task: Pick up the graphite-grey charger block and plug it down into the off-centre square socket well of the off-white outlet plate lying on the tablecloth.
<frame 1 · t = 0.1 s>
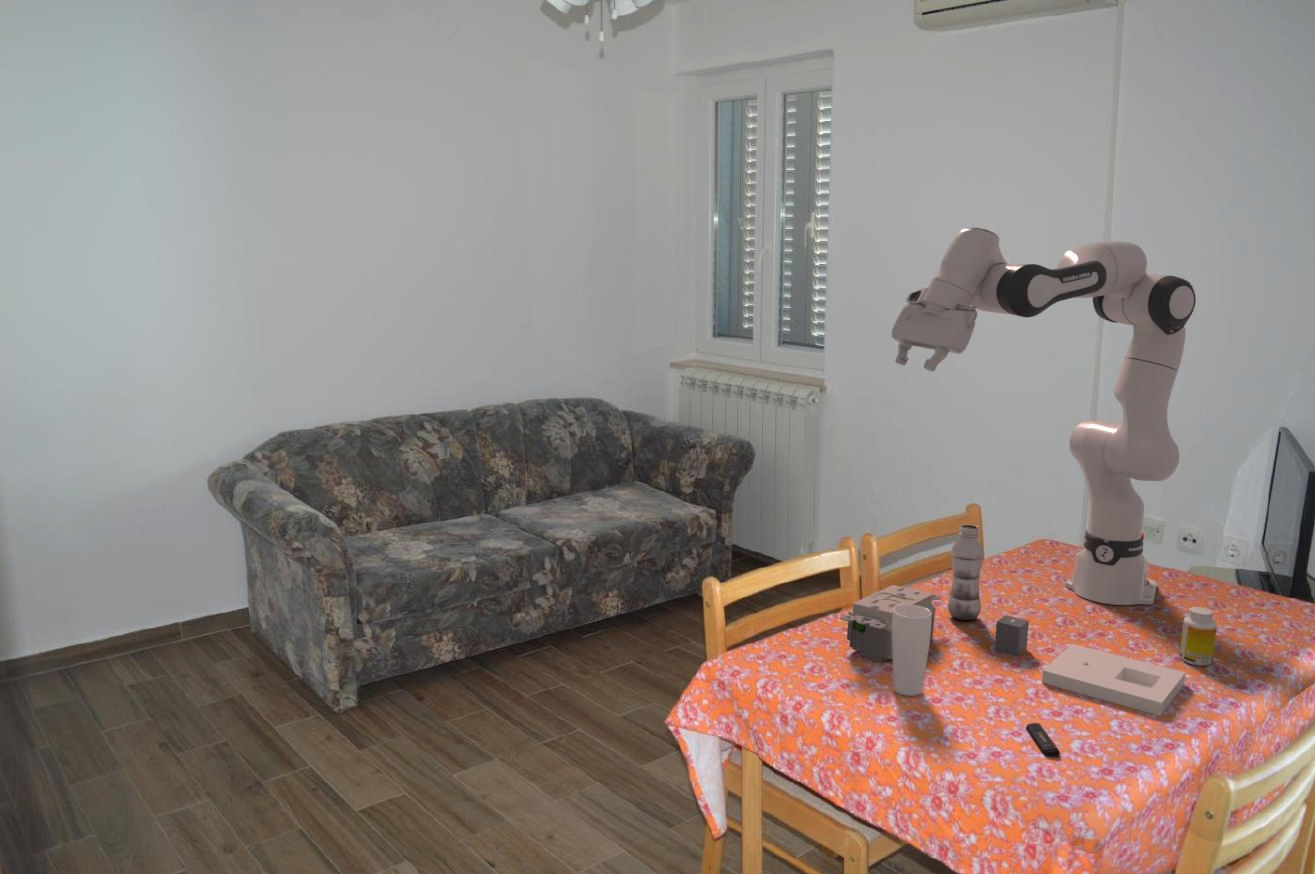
hand: (913, 366, 199), 54 cm above the table, tool tilted 30°, fingers open, 8 cm apart
electrical outlet: (890, 646, 201), on the table
usb stick: (1042, 745, 163), on the table
drinking glass: (907, 691, 181), on the table
plastic bottle: (963, 618, 216), on the table
supplement bottle: (1195, 661, 195), on the table
charger: (1010, 650, 199), on the table
outlet plate: (1112, 683, 184), on the table
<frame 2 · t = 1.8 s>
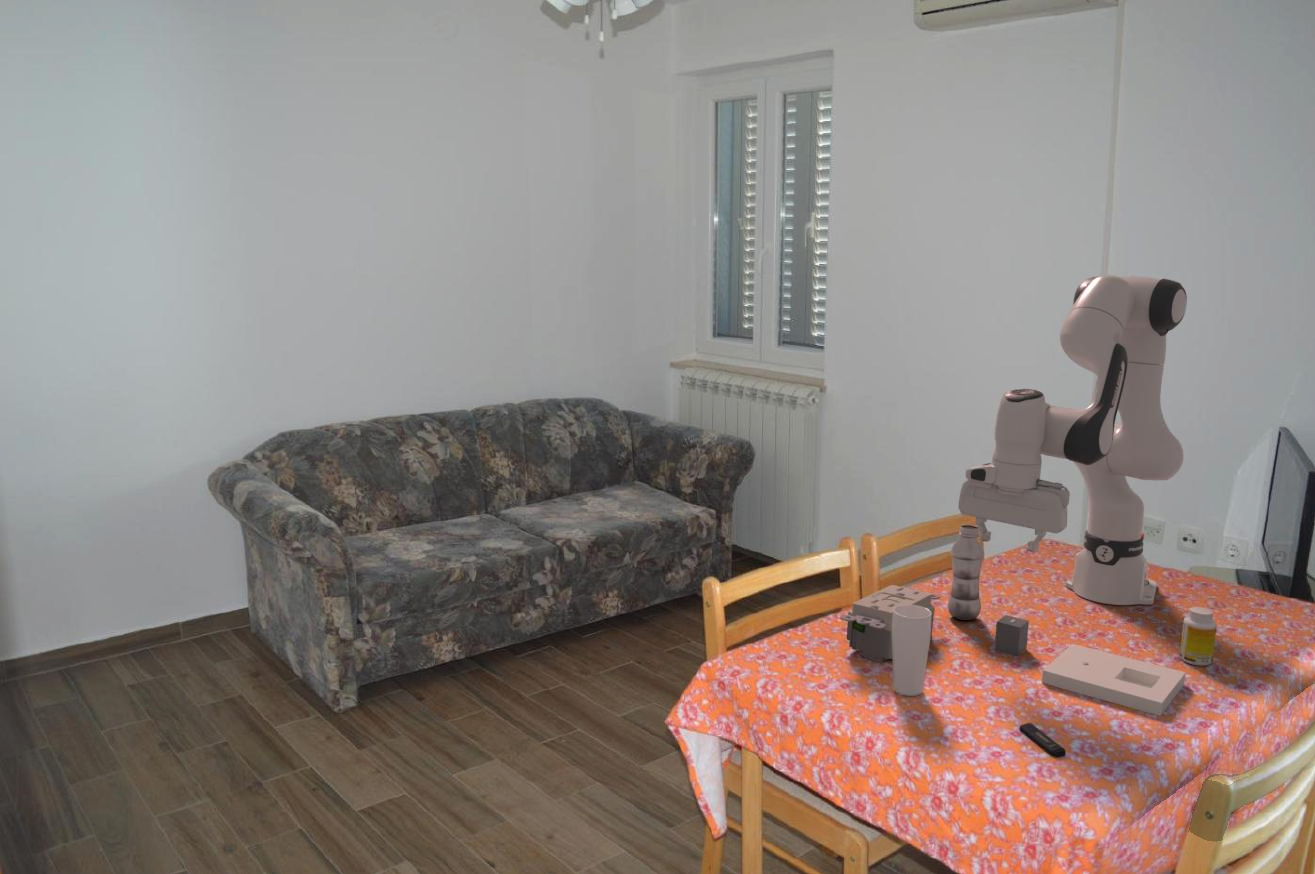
hand: (1008, 545, 195), 21 cm above the table, tool pointing down, fingers open, 8 cm apart
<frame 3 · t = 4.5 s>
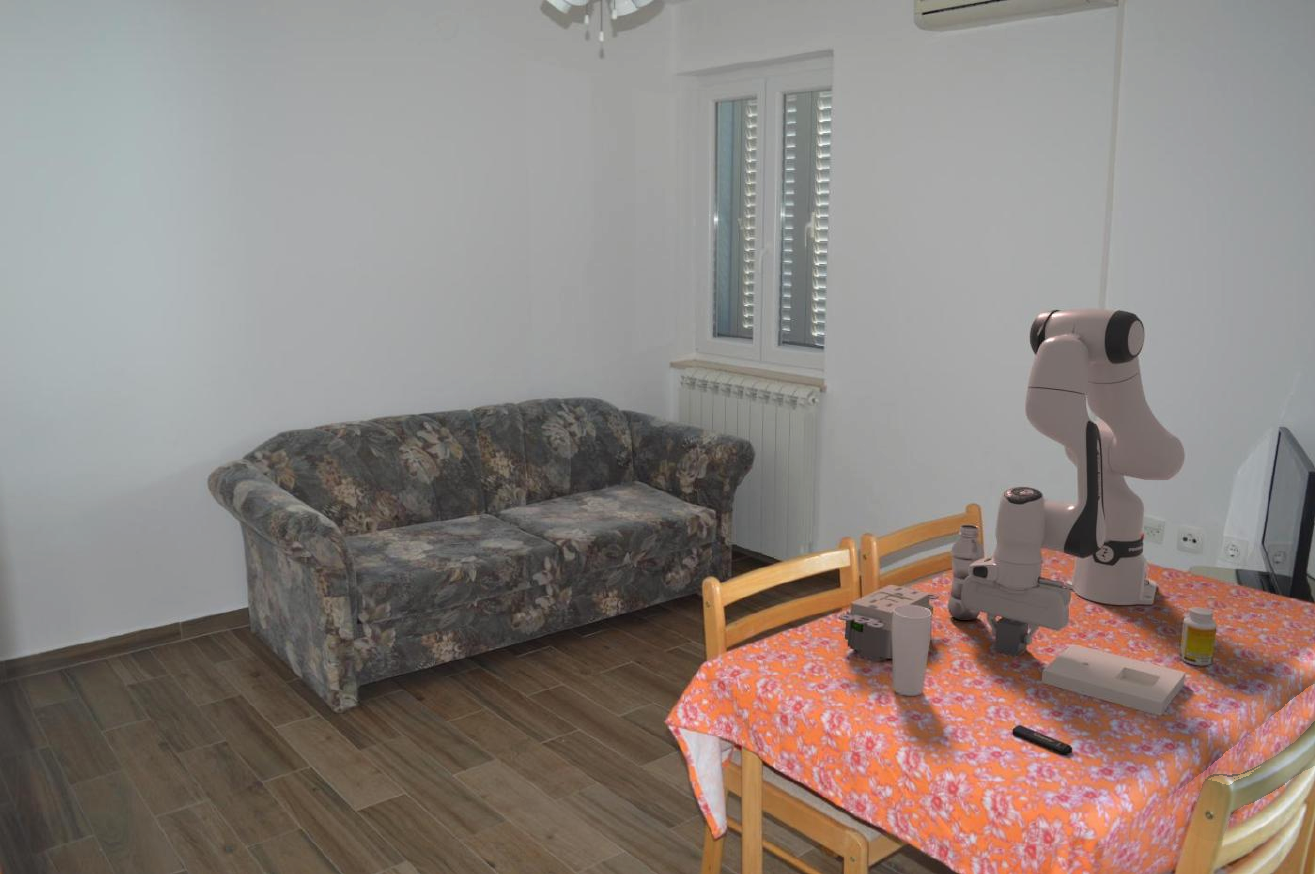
hand: (1011, 639, 199), 2 cm above the table, tool pointing down, fingers closed on charger, 5 cm apart
charger: (1010, 649, 199), on the table, touching gripper
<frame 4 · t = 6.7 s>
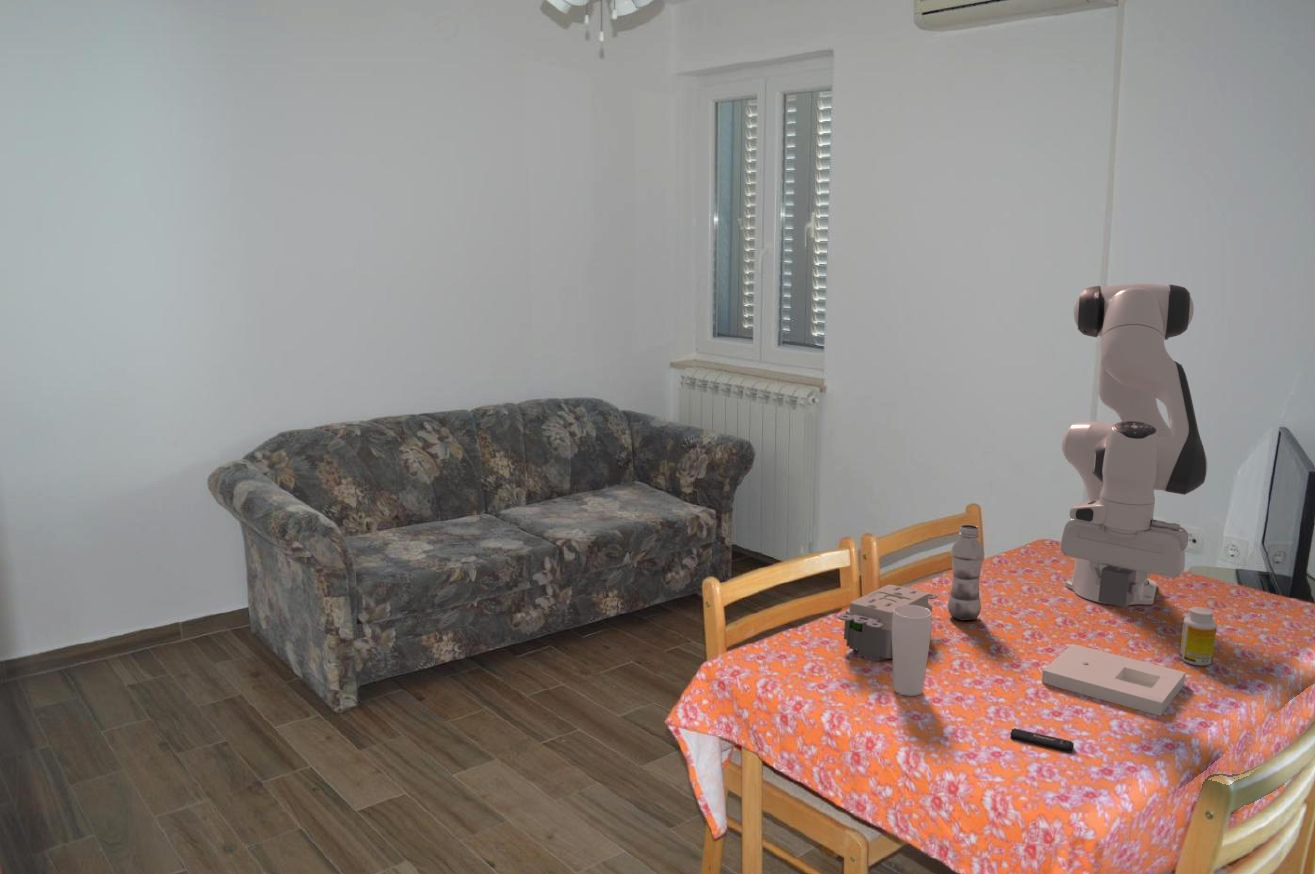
hand: (1117, 589, 181), 18 cm above the table, tool pointing down, fingers closed on charger, 5 cm apart
charger: (1115, 601, 182), point 16 cm above the table, touching gripper
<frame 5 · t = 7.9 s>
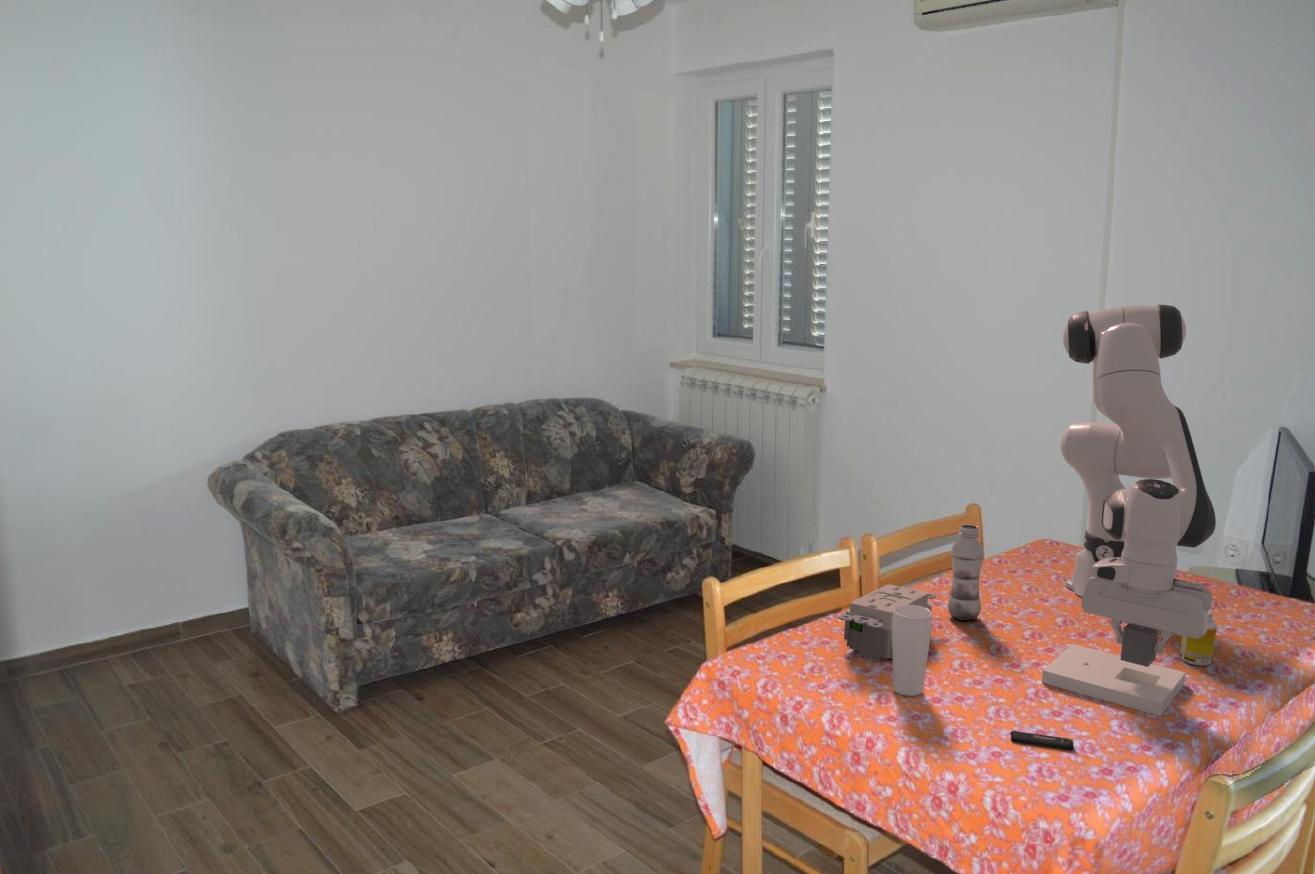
hand: (1139, 648, 180), 8 cm above the table, tool pointing down, fingers closed on charger, 5 cm apart
charger: (1137, 659, 181), point 6 cm above the table, touching gripper
when the fingers open (4 cm above the table, at t = 9.0 s): charger drops 1 cm, resting on outlet plate.
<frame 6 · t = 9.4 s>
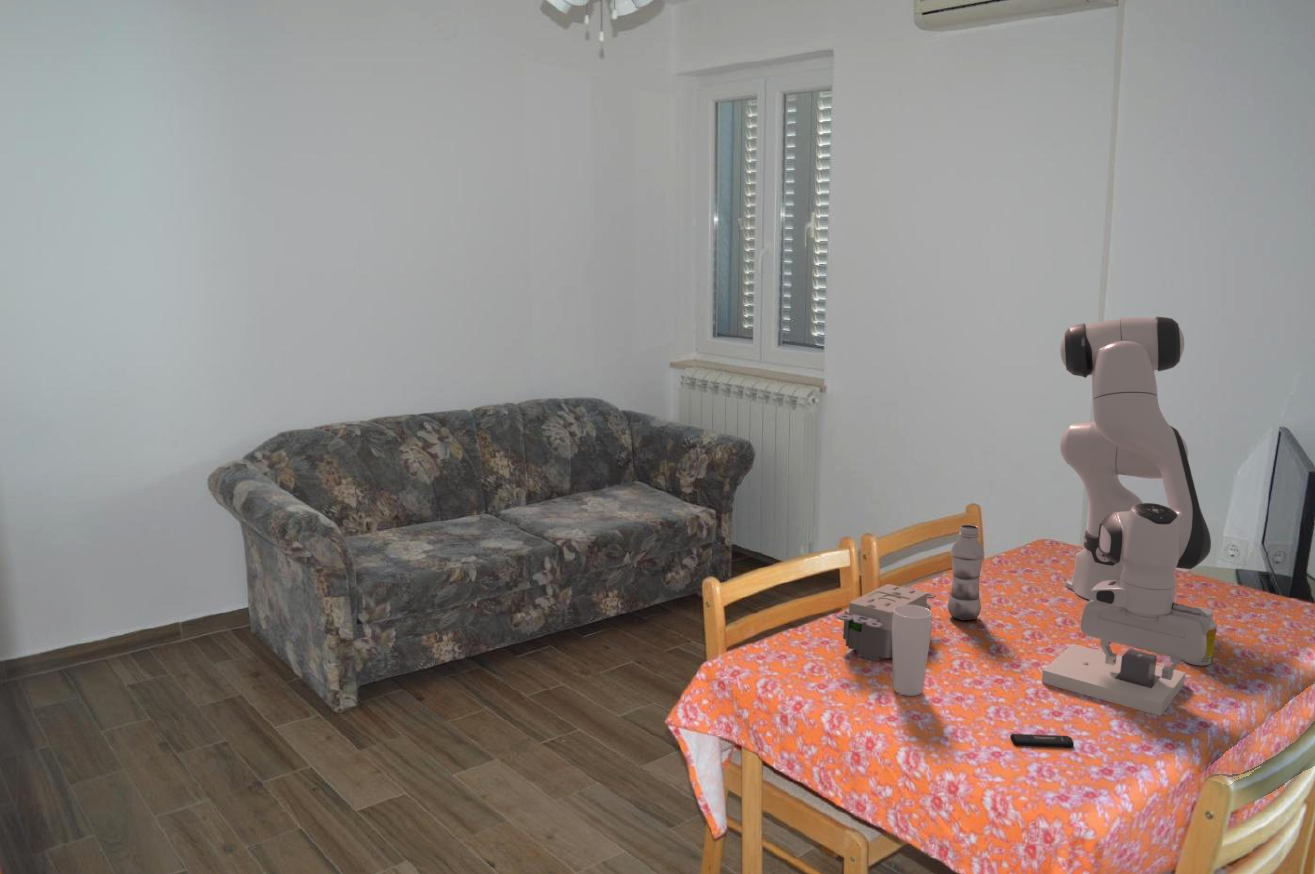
hand: (1138, 670, 181), 4 cm above the table, tool pointing down, fingers open, 8 cm apart
charger: (1136, 687, 182), resting on outlet plate
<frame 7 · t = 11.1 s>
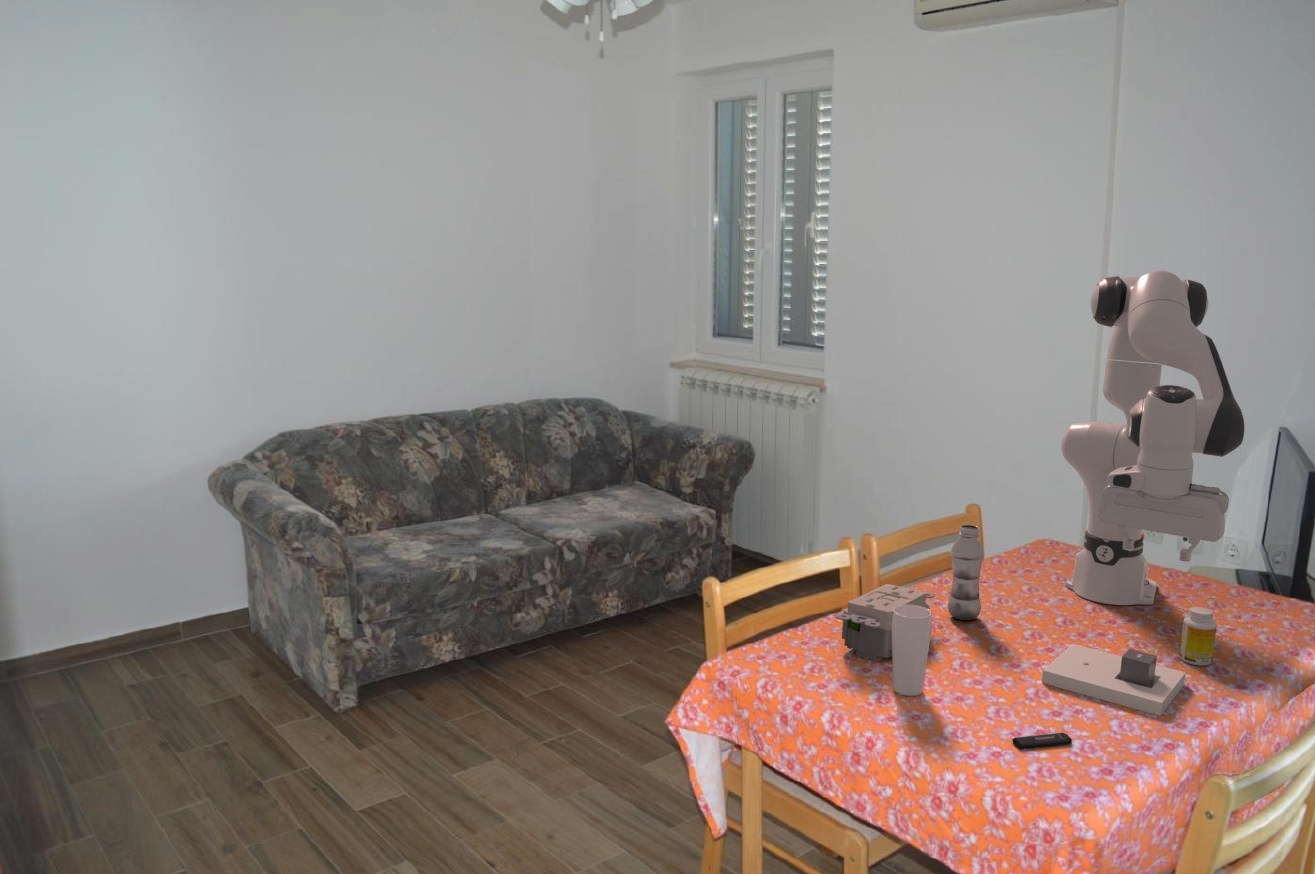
hand: (1156, 554, 181), 24 cm above the table, tool pointing down, fingers open, 8 cm apart
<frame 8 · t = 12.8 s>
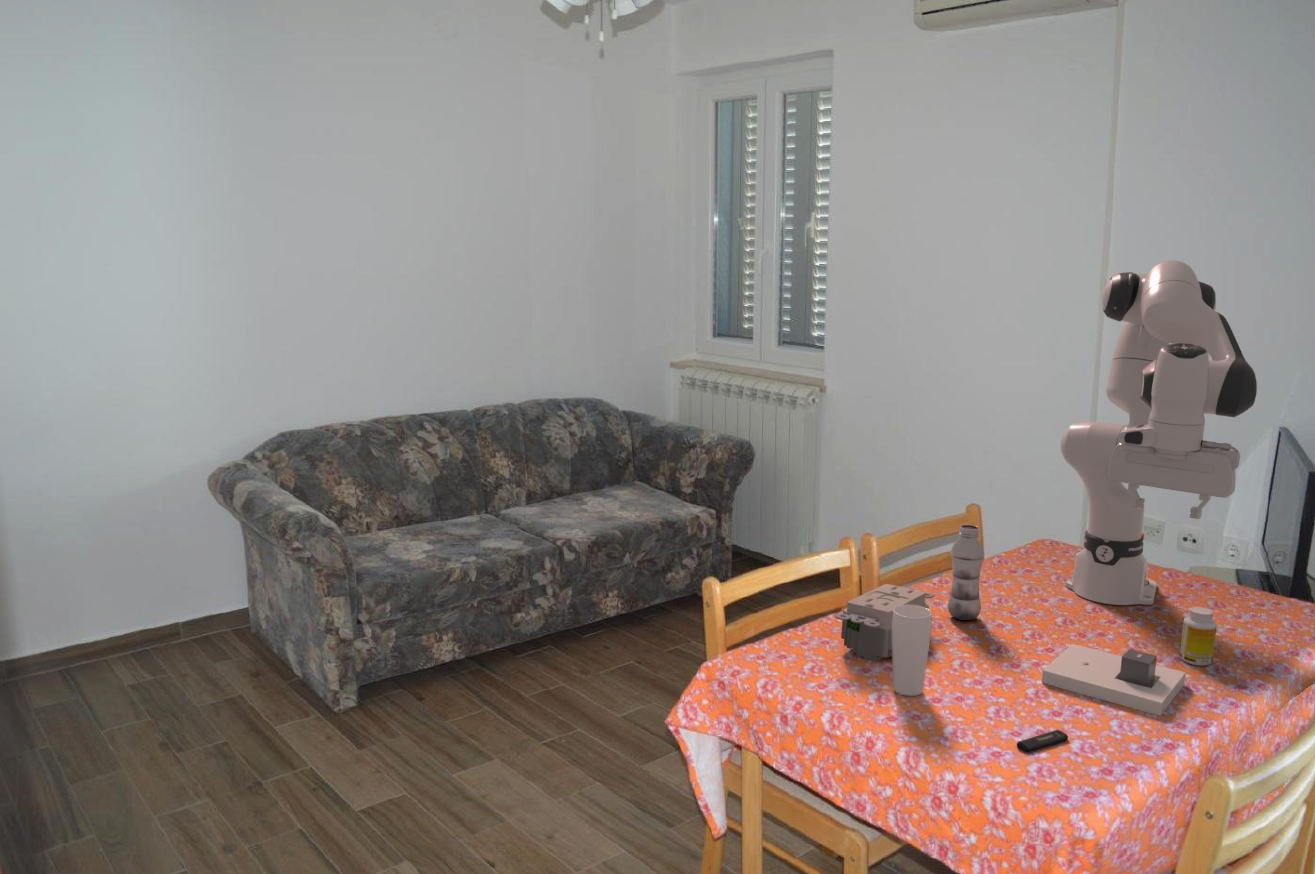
hand: (1166, 513, 182), 31 cm above the table, tool pointing down, fingers open, 8 cm apart
at the end: charger 0.1 cm from the target spot on the outlet plate, point 0.5 cm above the outlet plate's base; charger tilted 0°; the gripper is holding nothing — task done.
